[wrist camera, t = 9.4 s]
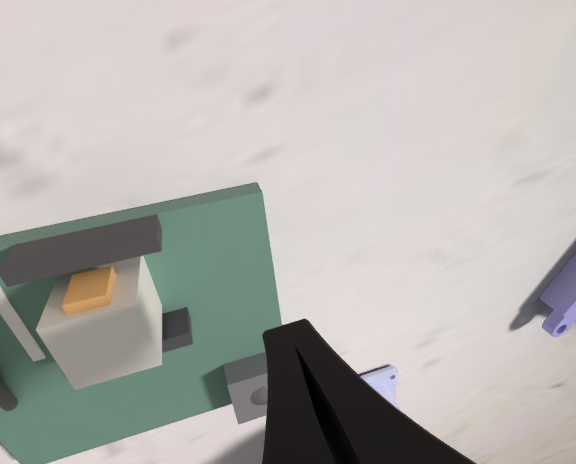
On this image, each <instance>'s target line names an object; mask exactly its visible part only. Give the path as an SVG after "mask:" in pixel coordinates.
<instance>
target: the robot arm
mask: <svg viewBox="0 0 576 464" xmlns="http://www.w3.org/2000/svg"><path fill="white" fill-rule="evenodd" d="M262 337H263V342H264V346H265V351H266V358H267V392H268V398H267V417H266V433H265V443H264V453H263V461H262V464H476V463H475V462H473V461H472V460H470V459H469V458H467V457H466V456H464V455H462V454H461V453H459V452H458V451H456V450H455V449H453V448H452V447H450V446H449V445H447V444H446V443H444V442H443V441H441V440H440V439H438V438H437V437H435V436H434V435H432V434H431V433H429V432H428V431H427V430H425V429H424V428H423V427H421V426H420V425H418V424H417V423H416V422H414V421H413V420H412V419H410V418H409V417H408V416H406V415H405V414H404V413H403V412H402V410H401V409H400V407H399V405H398V404H397V402H396V400H395V398H396V387H397V376H398V369H397V368H396V367H395V366H389V367H386V368H383V369H380V370H377V371H374V372H371V373H368V374H365V375H362V376H359V375H358V374H357V373H356V372H355V371H354V370H353V369H352V368H351V367H350V366H349V365H348V364H347V363H346V362H345V361H344V360H343V359H342V358H341V357H340V356H339V355H338V354H337V353H336V352H335V351H334V350H333V349H332V348H331V347H330V346H329V345H328V343H327V342H326V341H325V340H324V339H323V338H322V337H321V336H320V334H319V333H318V332H317V331H316V330H315V328H314V327H313V326H312V325H311V323H310V322H309V321H308V320H306V319H302V320H299V321H296V322H292V323H289V324H286V325H282V326H279V327H276V328H272V329H269V330H266V331H265V332H264V333H263V334H262Z"/></svg>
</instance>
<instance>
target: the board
mask: <svg viewBox="0 0 576 464" xmlns="http://www.w3.org/2000/svg"><path fill="white" fill-rule="evenodd" d="M139 256H144V259H145V261H146V264H147V267H148V269H149V272H150V275H151V277H152V280H153V283H154V286H155V288H156V291H157V294H158V296H159V299H160V302H161V304H162V365H160V366H157V367H153V368H150V369H146V370H143V371H139V372H136V373H133V374H129V375H126V376H122V377H119V378H115V379H112V380H108V381H105V382H102V383H98V384H95V385H91V386H88V387H84V388H81V389H78V390H74V388H73V387H72V385H71V384H70V382H69V381H68V379H67V378H66V376H65V375H64V373H63V371H62V370H61V368H60V367H59V365H58V364H57V362H56V361H55V359H54V358H53V356H52V354H51V353H50V351H49V350H48V348H47V347H46V345H45V344H44V342H43V341H42V339H41V337H40V336H39V334H38V333H37V331H36V328H37V326H38V323H39V321H40V318H41V316H42V313H43V311H44V308H45V306H46V303H47V301H48V299H49V296H50V294H51V291H52V289H53V286H54V284H55V281H56V279H57V276H58V275H62V274H66V273H70V272H75V271H79V270H83V269H87V268H92V267H96V266H100V265H105V264H109V263H113V262H118V261H122V260H126V259H130V258H135V257H139ZM279 326H282V323H281V316H280V309H279V303H278V296H277V289H276V282H275V275H274V269H273V262H272V255H271V248H270V242H269V235H268V228H267V221H266V214H265V208H264V201H263V194H262V190H261V189H260V187H259V185H258V183H252V184H247V185H242V186H237V187H232V188H228V189H223V190H218V191H213V192H208V193H204V194H199V195H194V196H189V197H184V198H180V199H175V200H170V201H165V202H160V203H156V204H151V205H146V206H141V207H136V208H132V209H127V210H122V211H117V212H112V213H108V214H103V215H98V216H93V217H88V218H84V219H79V220H74V221H69V222H64V223H60V224H55V225H50V226H45V227H40V228H36V229H31V230H26V231H21V232H16V233H12V234H7V235H2V236H0V443H1V444H2V445H3V446H4V447H5V448H6V449H7V450H8V451H9V452H10V453H11V454H12V455H13V457H14V458H15V459H16V460H17V461H18V462H19V463H20V464H46V463H49V462H52V461H56V460H59V459H62V458H65V457H68V456H71V455H74V454H77V453H80V452H83V451H87V450H90V449H93V448H96V447H99V446H102V445H105V444H108V443H111V442H115V441H118V440H121V439H124V438H127V437H130V436H133V435H136V434H139V433H142V432H146V431H149V430H152V429H155V428H158V427H161V426H164V425H167V424H170V423H174V422H177V421H180V420H183V419H186V418H189V417H192V416H195V415H198V414H201V413H205V412H208V411H211V410H214V409H217V408H220V407H223V406H226V405H229V404H233V407H234V411H235V414H236V417H237V421H238V424H241V423H244V422H247V421H250V420H253V419H256V418H259V417H262V416H265V415H267V398H268V392H267V358H266V351H265V346H264V342H263V337H262V334H263V333H264V332H265V331H266V330H269V329H272V328H276V327H279Z"/></svg>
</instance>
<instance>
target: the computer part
mask: <svg viewBox="0 0 576 464" xmlns="http://www.w3.org/2000/svg"><path fill="white" fill-rule="evenodd" d="M539 299H540V300H541V301H543V302H544V303H545V304H547V305H548V306H549V307H551V308H552V309H553V311H552V312H551V314H550V315H549V316H548V317H547V318H546V319H545V321H544V322H543V324H542V328H543V329H544V330H546V331H547V332H548V333H549V334H551V335H552V336H553V337H559V336H561V335H563V334H564V333H565V332H566V331H567V330H568V329H569V328H570V327H571V326H572V325H573V324H574V323H575V321H576V253H575V255H574V256H573V257H572V258H571V259H570V261H569V262H568V263H567V264H566V265H565V267H564V268H563V269H562V270H561V271H560V273H559V274H558V275H557V276H556V277H555V279H554V280H553V281H552V282H551V284H550V285H549V286H548V287H547V288H546V290H545V291H544V292H543V293H542V294H541V296H540V297H539Z"/></svg>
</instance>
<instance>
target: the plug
mask: <svg viewBox="0 0 576 464" xmlns="http://www.w3.org/2000/svg"><path fill="white" fill-rule="evenodd" d="M36 331H37V333H38V334H39V336H40V337H41V339H42V341H43V342H44V344H45V345H46V347H47V348H48V350H49V351H50V353H51V354H52V356H53V358H54V359H55V361H56V362H57V364H58V365H59V367H60V368H61V370H62V371H63V373H64V375H65V376H66V378H67V379H68V381H69V382H70V384H71V385H72V387H73V388H74V390H78V389H81V388H84V387H88V386H91V385H95V384H98V383H102V382H105V381H108V380H112V379H115V378H119V377H122V376H126V375H129V374H133V373H136V372H139V371H143V370H146V369H150V368H153V367H157V366H160V365H162V304H161V302H160V299H159V296H158V294H157V291H156V288H155V286H154V283H153V280H152V277H151V275H150V272H149V269H148V267H147V264H146V261H145V259H144V256H139V257H135V258H130V259H126V260H122V261H118V262H113V263H109V264H105V265H100V266H96V267H92V268H87V269H83V270H79V271H75V272H70V273H66V274H62V275H58V276H57V279H56V281H55V284H54V286H53V289H52V291H51V294H50V296H49V299H48V301H47V303H46V306H45V308H44V311H43V313H42V316H41V318H40V321H39V323H38V326H37V328H36Z"/></svg>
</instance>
